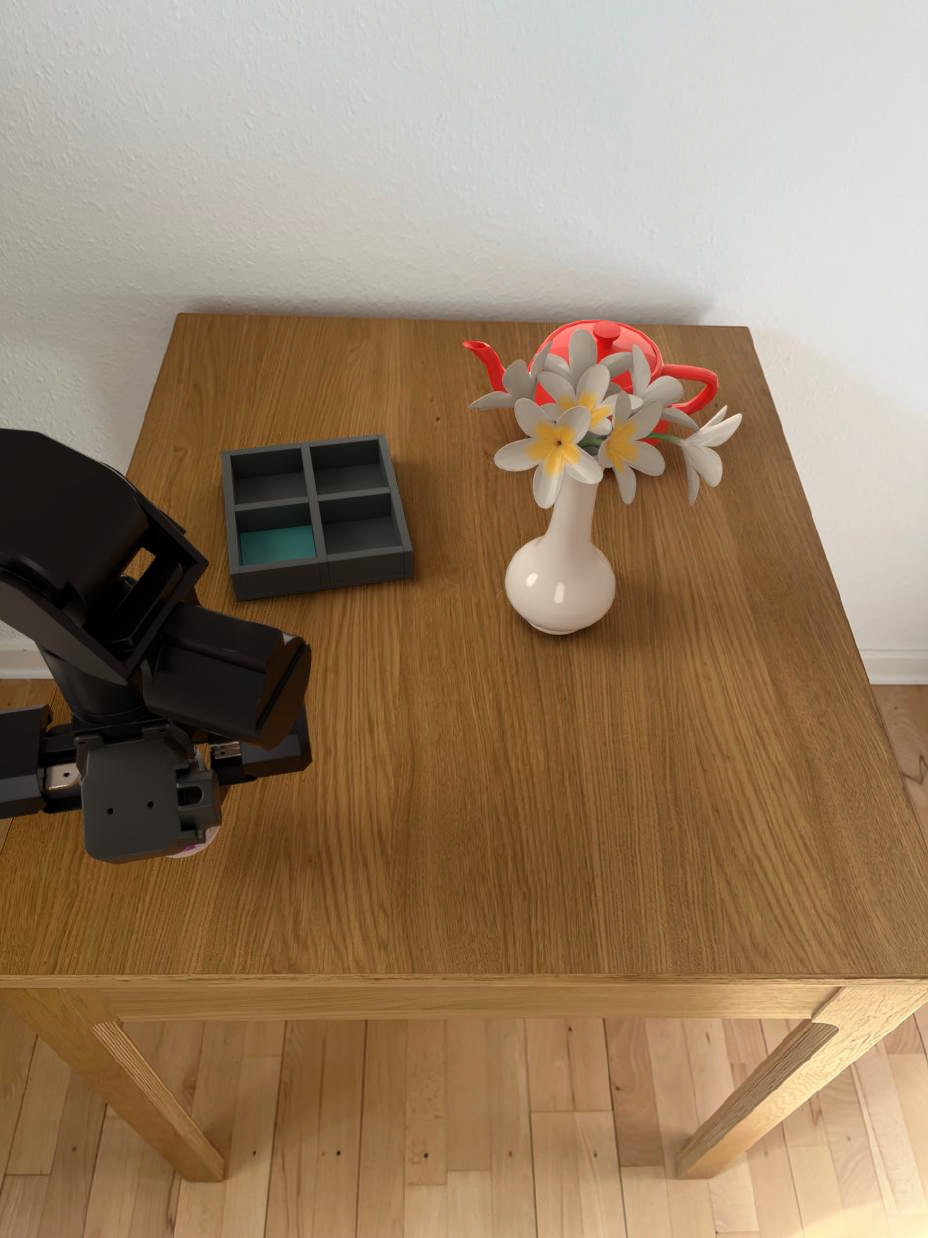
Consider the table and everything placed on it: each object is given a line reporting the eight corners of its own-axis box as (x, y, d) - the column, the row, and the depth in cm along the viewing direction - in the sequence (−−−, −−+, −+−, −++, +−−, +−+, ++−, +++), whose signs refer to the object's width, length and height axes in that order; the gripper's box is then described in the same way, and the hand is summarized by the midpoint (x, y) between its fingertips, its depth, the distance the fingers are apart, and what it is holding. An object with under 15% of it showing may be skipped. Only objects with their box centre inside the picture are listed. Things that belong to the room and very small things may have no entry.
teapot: (696, 391, 101) (725, 290, 91) (709, 492, 91) (742, 391, 82) (464, 373, 101) (469, 271, 92) (452, 472, 92) (456, 369, 82)
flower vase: (678, 667, 78) (766, 435, 59) (457, 663, 78) (470, 427, 58) (658, 552, 86) (728, 313, 67) (457, 547, 86) (468, 305, 66)
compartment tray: (236, 601, 81) (229, 574, 78) (227, 479, 90) (220, 450, 87) (413, 578, 83) (413, 550, 80) (386, 461, 92) (385, 432, 90)
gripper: (-99, 840, 43) (15, 955, 55) (310, 774, 46) (332, 897, 58) (-67, 647, 50) (28, 788, 62) (289, 600, 53) (313, 744, 65)
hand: (175, 806), depth 62 cm, fingers closed on pill bottle, 5 cm apart
